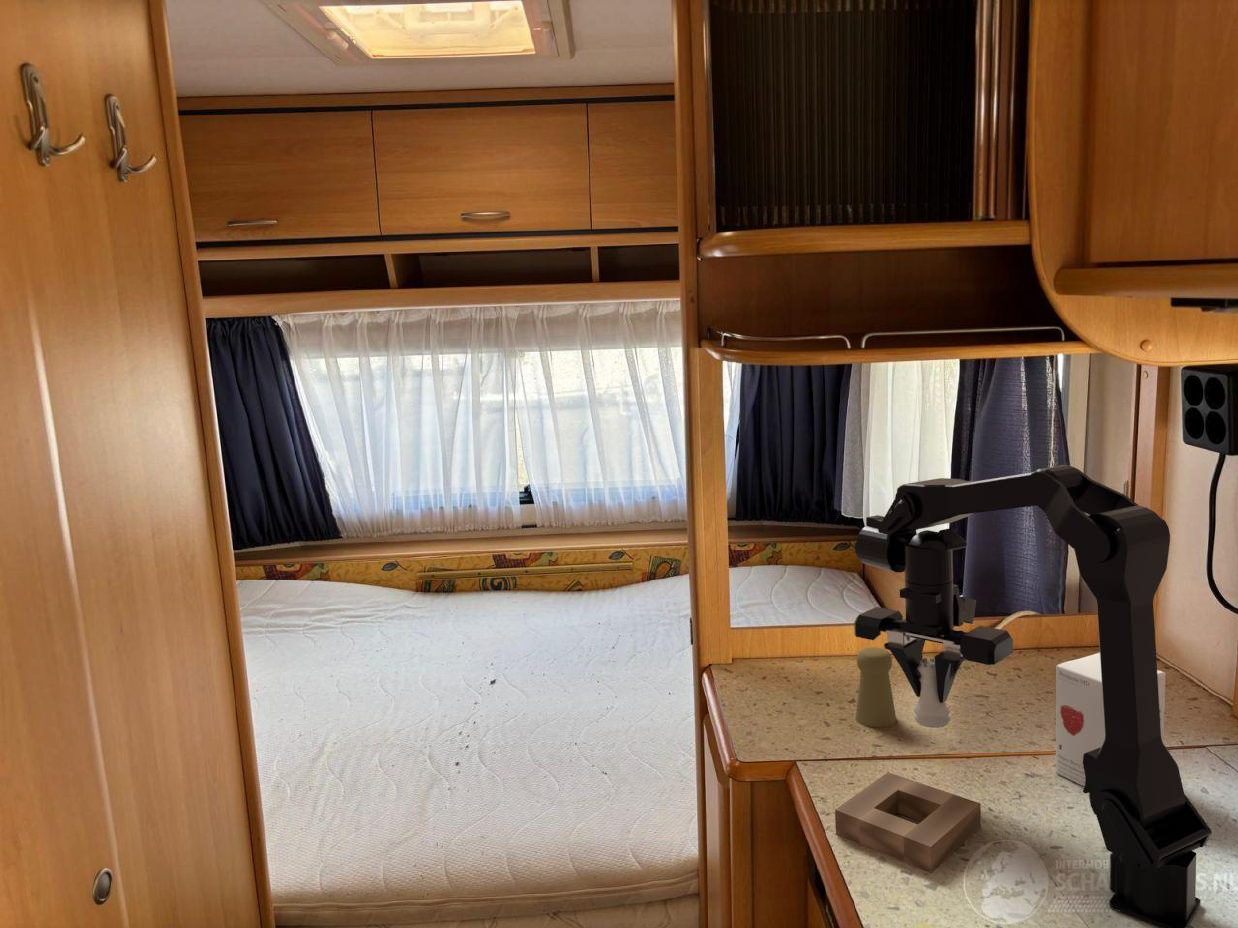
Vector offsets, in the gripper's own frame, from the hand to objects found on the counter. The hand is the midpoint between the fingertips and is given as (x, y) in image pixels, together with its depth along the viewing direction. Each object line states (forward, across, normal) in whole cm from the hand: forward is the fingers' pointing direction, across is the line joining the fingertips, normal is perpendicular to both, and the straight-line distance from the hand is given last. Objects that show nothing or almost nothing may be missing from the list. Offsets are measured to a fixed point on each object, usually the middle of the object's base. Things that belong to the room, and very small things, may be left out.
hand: (931, 698), depth 112 cm
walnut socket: (+12, -3, +11) cm, 17 cm away
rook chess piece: (+3, 0, 0) cm, 3 cm away
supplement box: (+12, -16, -16) cm, 25 cm away
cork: (+12, +16, -14) cm, 24 cm away
